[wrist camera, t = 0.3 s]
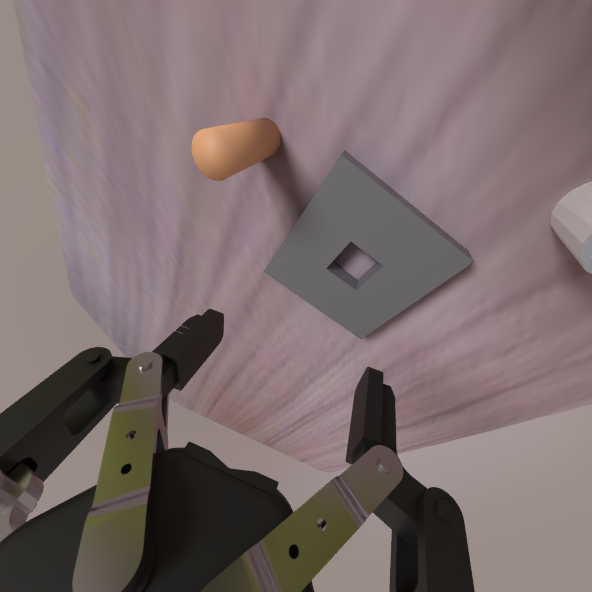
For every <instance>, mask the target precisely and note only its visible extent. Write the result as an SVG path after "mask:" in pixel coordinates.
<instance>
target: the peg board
mask: <svg viewBox="0 0 592 592" xmlns="http://www.w3.org/2000/svg"><path fill="white" fill-rule="evenodd" d="M350 242H352V243H353V244H355V245H356V246H357V247H359V248H360V249H361V250H363V251H364V252H365V253H367V254H368V255H369V256H371V257H372V258H373V259H375V260H376V261H377V263H376V264H375V265H374V266H373V267H372V268H370V269H369V270H368V271H367V272H366V273H365V274H364V275H363V276H362V277H361V278H360V279H359V280H357V279H356V278H354V277H353V276H352V275H350V274H349V273H348V272H346V271H345V270H343V269H342V268H341V267H339V266H338V265H337V264H335V263H334V262H333V260H334V259H335V258H336V257H337V256H338V255H339V254H340V253H341V252H342V251H343V249H344V248H345V247H346V246H347V245H348V244H349V243H350ZM473 262H474V261H473V259H472V257H471V255H470V253H469V251H468V250H467V249H465V248H464V247H463V246H462V245H461V244H459V243H458V242H457V241H456V240H454V239H453V238H452V237H451V236H449V235H448V234H447V233H446V232H445V231H443V230H442V229H441V228H440V227H438V226H437V225H436V224H435V223H434V222H432V221H431V220H430V219H429V218H427V217H426V216H425V215H424V214H422V213H421V212H420V211H419V210H418V209H416V208H415V207H414V206H413V205H411V204H410V203H409V202H408V201H406V200H405V199H404V198H403V197H402V196H400V195H399V194H398V193H397V192H395V191H394V190H393V189H392V188H391V187H389V186H388V185H387V184H386V183H384V182H383V181H382V180H381V179H379V178H378V177H377V176H376V175H375V174H373V173H372V172H371V171H370V170H368V169H367V168H366V167H365V166H364V165H362V164H361V163H360V162H359V161H357V160H356V159H355V158H354V157H352V156H351V155H350V154H349V153H348V152H346V151H344V152H343V153H342V154H341V156H340V157H339V159H338V160H337V162H336V163H335V165H334V166H333V168H332V169H331V171H330V172H329V174H328V175H327V177H326V178H325V180H324V181H323V183H322V184H321V186H320V187H319V189H318V190H317V192H316V193H315V195H314V197H313V198H312V200H311V201H310V203H309V204H308V206H307V207H306V209H305V210H304V212H303V213H302V215H301V216H300V218H299V219H298V221H297V222H296V224H295V225H294V227H293V228H292V230H291V231H290V233H289V234H288V236H287V237H286V239H285V240H284V242H283V243H282V245H281V246H280V248H279V249H278V251H277V252H276V254H275V255H274V257H273V258H272V260H271V261H270V263H269V264H268V266H267V267H266V269H265V270H264V272H265V273H266V274H268V275H269V276H271V277H272V278H274V279H275V280H276V281H278V282H279V283H281V284H282V285H284V286H285V287H287V288H288V289H289V290H291V291H292V292H294V293H295V294H297V295H298V296H300V297H301V298H302V299H304V300H305V301H307V302H308V303H310V304H311V305H313V306H314V307H315V308H317V309H318V310H320V311H321V312H323V313H324V314H326V315H327V316H328V317H330V318H331V319H333V320H334V321H336V322H337V323H339V324H340V325H342V326H343V327H344V328H346V329H347V330H349V331H350V332H352V333H353V334H355V335H356V336H357V337H359V338H360V339H362V338H364V337H365V336H367V335H368V334H370V333H371V332H372V331H374V330H375V329H377V328H378V327H380V326H381V325H383V324H384V323H386V322H387V321H388V320H390V319H391V318H393V317H394V316H396V315H397V314H399V313H400V312H402V311H403V310H404V309H406V308H407V307H409V306H410V305H412V304H413V303H415V302H416V301H418V300H419V299H420V298H422V297H423V296H425V295H426V294H428V293H429V292H431V291H432V290H434V289H435V288H436V287H438V286H439V285H441V284H442V283H444V282H445V281H447V280H448V279H450V278H451V277H452V276H454V275H455V274H457V273H458V272H460V271H461V270H463V269H464V268H466V267H467V266H468V265H470V264H471V263H473Z"/></svg>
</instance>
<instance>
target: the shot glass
mask: <svg viewBox="0 0 592 592" xmlns="http://www.w3.org/2000/svg"><path fill="white" fill-rule="evenodd" d="M550 225H551V226H552V228H553V230H554V232H555V233H556V234H557V236H558V237H559V238H560V239H561V241H562V242H563V243H564V244H565V246H566V247H567V248H568V249H569V251H570V252H571V253H572V254H573V256H574V257H575V258H576V259H577V261H578V262H579V263H580V264H581V266H582V267H583V268H584V269H585V271H587V272H589V273H591V274H592V181H591V182H587V183H585V184H583V185H581V186H579V187H577V188H575V189H573V190H571V191H570V192H569V193H568V194H566V195H565V196H564V197H563V198H562V199H561V200H559V201H558V203H557V204H556V206H555V208H554V209H553V211H552V212H551V218H550Z"/></svg>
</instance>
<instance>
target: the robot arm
mask: <svg viewBox="0 0 592 592" xmlns="http://www.w3.org/2000/svg"><path fill="white" fill-rule="evenodd" d="M223 333H224V314H223V313H221V312H218V311H215V310H212V309H209V310H207V311H206V312H205V313H204V314H203V315H202V316H201V315H195V316H193V317H191V318H189V319H187V320H186V321H185V322H184V323H183V324H182V325H181V326H180V327H179V328H178V329H176V331H175V332H173V333H172V334H171V335H170V336H169V337H168V338H167V339H166V340H164V341H163V342H162V343H161V344H160V345H159V346H158V347H157V348H156V349H155V350H153V351H152V352H145V353H141V354H138V355H136V356H135V357H133V358H125V357H113V356H112V355H111V352H110V351H109V350H108V349H106V348H102V347H95V348H90V349H87V350H85V351H83V352H81V353H79V354H78V355H77V356H75V357H74V358H73V359H71V360H70V361H69V362H67V363H66V364H65V365H64V366H62V367H61V368H60V369H58V370H57V371H56V372H54V373H53V374H52V375H50V376H49V377H48V378H46V379H45V380H44V381H43V382H41V383H40V384H39V385H38V386H36V387H35V388H33V389H32V390H31V391H30V392H28V393H27V394H26V395H24V396H23V397H22V398H20V399H19V400H18V401H16V402H15V403H14V404H12V405H11V406H10V407H9V408H7V409H6V410H5V411H3V412H2V413H1V414H0V592H314V589H313V585H312V579H313V578H314V577H315V576H316V575H317V574H318V573H319V572H320V570H321V569H322V568H323V567H324V566H325V565H326V564H327V563H328V562H329V561H330V560H331V558H332V557H333V556H334V555H335V554H336V553H337V552H338V551H339V550H340V549H341V547H342V546H343V545H344V544H345V543H346V542H347V541H348V540H349V539H350V538H351V537H352V535H353V534H354V533H355V532H356V531H357V530H358V529H359V528H360V526H361V525H362V524H363V523H364V522H365V521H366V519H367V518H368V516H369V515H370V514H371V513H372V512H373V513H374V514H375V515H376V516H378V517H379V518H380V519H381V520H382V521H383V522H384V523H385V524H386V525H387V526H389V527H390V528H391V529H392V542H391V567H390V592H475V591H474V585H473V578H472V571H471V565H470V558H469V552H468V544H467V538H466V531H465V524H464V519H463V515H462V512H461V510H460V508H459V506H458V504H457V503H456V502H455V500H454V499H453V498H452V497H451V496H450V495H449V494H448V493H447V492H445V491H444V490H442V489H440V488H436V487H431V488H429V489H427V488H426V487H424V486H423V485H422V484H421V483H420V482H418V481H417V480H416V479H414V478H413V477H412V476H411V475H410V474H409V473H408V472H407V471H406V470H405V469H404V468H403V466H402V463H401V461H400V459H399V458H398V456H397V450H396V418H395V416H396V413H395V396H394V393H393V391H392V389H391V386H388V385H385V384H383V372H381V371H379V370H376V369H373V368H370V367H367V368H366V370H365V372H364V374H363V376H362V377H361V379H360V381H359V383H358V385H357V388H356V391H355V395H354V402H353V409H352V417H351V425H350V432H349V440H348V447H347V455H346V462H347V463H350V464H352V465H351V466H350V467H349V468H348V469H347V470H345V471H344V472H343V473H342V474H341V475H339V476H338V477H335V478H334V479H332V480H331V481H330V482H329V483H327V484H326V485H325V486H324V487H323V488H322V489H321V490H319V491H318V492H317V493H316V494H315V495H313V496H312V497H311V498H310V499H309V500H308V501H306V502H305V503H304V504H303V505H302V506H301V507H300V508H298V509H297V510H296V511H295V512H293V510H292V508H291V506H290V504H289V503H288V501H287V500H286V498H285V497H284V496H283V495H282V493H280V492H279V491H278V490H277V486H278V483H279V482H277V481H275V480H273V479H271V478H268V477H266V476H264V475H262V474H260V473H257V472H254V471H245V470H237V469H230V468H228V467H227V466H226V465H225V464H224V463H223V462H222V461H220V460H219V459H218V458H217V457H216V456H215V455H214V454H213V453H212V452H211V451H209V450H207V449H205V448H202V447H200V446H198V445H196V444H194V443H191V442H189V443H188V444H187V446H186V447H185V448H171V449H168V435H167V434H168V433H167V428H168V427H167V426H168V403H169V393H170V391H171V390H172V389H173V388H175V389H178V390H180V391H181V390H182V389H183V388H184V386H185V385H186V384H187V383H188V382H189V380H190V379H191V378H192V377H193V375H194V374H195V373H196V372H197V370H198V369H199V368H200V367H201V366H202V364H203V363H204V362H205V361H206V359H207V358H208V357H209V356H210V355H211V353H212V352H213V351H214V350H215V348H216V347H217V346H218V345H219V343H220V342H221V340H222V337H223ZM117 403H119V406H116V407H115V408H114V410H113V413H112V417H111V421H110V426H109V431H108V435H107V440H106V445H105V449H104V454H103V459H102V463H101V468H100V473H99V478H98V482H97V485H95V486H93V487H91V488H89V489H88V490H86V491H84V492H82V493H80V494H78V495H76V496H74V497H72V498H70V499H69V500H67V501H65V502H63V503H61V504H59V505H57V506H55V507H53V508H51V509H50V510H48V511H46V512H44V513H42V514H40V515H38V516H37V517H34V518H33V519H31V520H29V521H27V522H26V519H27V517H28V515H29V514H30V513H31V512H32V511H33V510H34V508H35V507H36V505H37V502H38V501H39V499H40V497H41V495H42V492H43V488H44V485H43V482H44V481H45V480H46V479H47V477H48V476H49V475H50V474H51V473H52V472H53V471H54V470H55V469H56V468H57V467H58V466H59V464H61V463H62V461H63V460H64V459H65V458H66V457H67V456H68V455H69V454H70V453H71V452H72V451H73V450H74V449H75V448H76V446H77V445H78V444H79V443H80V442H81V441H82V440H83V439H84V438H85V437H86V436H87V434H88V433H89V432H90V431H91V430H92V429H93V428H94V427H95V426H96V425H97V424H98V423H99V422H100V421H101V420H102V419H103V417H104V416H105V415H106V414H107V413H108V412H109V411H110V410H111V409H112V408H113V406H115V405H116V404H117Z"/></svg>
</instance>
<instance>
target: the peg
mask: <svg viewBox="0 0 592 592" xmlns="http://www.w3.org/2000/svg"><path fill="white" fill-rule="evenodd" d="M280 143H281V136H280V132H279V129H278V127H277V126H276V125H275V123H274V122H272V121H271V120H269V119H266V118H262V119H256V120H251V121H245V122H239V123H234V124H228V125H223V126H217V127H211V128H206V129H202V130H200V131H198V132H197V133H196V134H195V136H194V138H193V141H192V155H193V158H194V161H195V163H196V165H197V167H198V168H199V170H200V171H201V172H202V173H203V174H204V175H205V176H207V177H208V178H210V179H212V180H216V181H220V180H224V179H226V178H228V177H230V176H232V175H234V174H236V173H238V172H240V171H242V170H244V169H246V168H248V167H250V166H252V165H254V164H256V163H258V162H260V161H262V160H264V159H266V158H268V157H270V156H272V155H274V154H275V153H276V152H277V151H278V149H279V147H280Z"/></svg>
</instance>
